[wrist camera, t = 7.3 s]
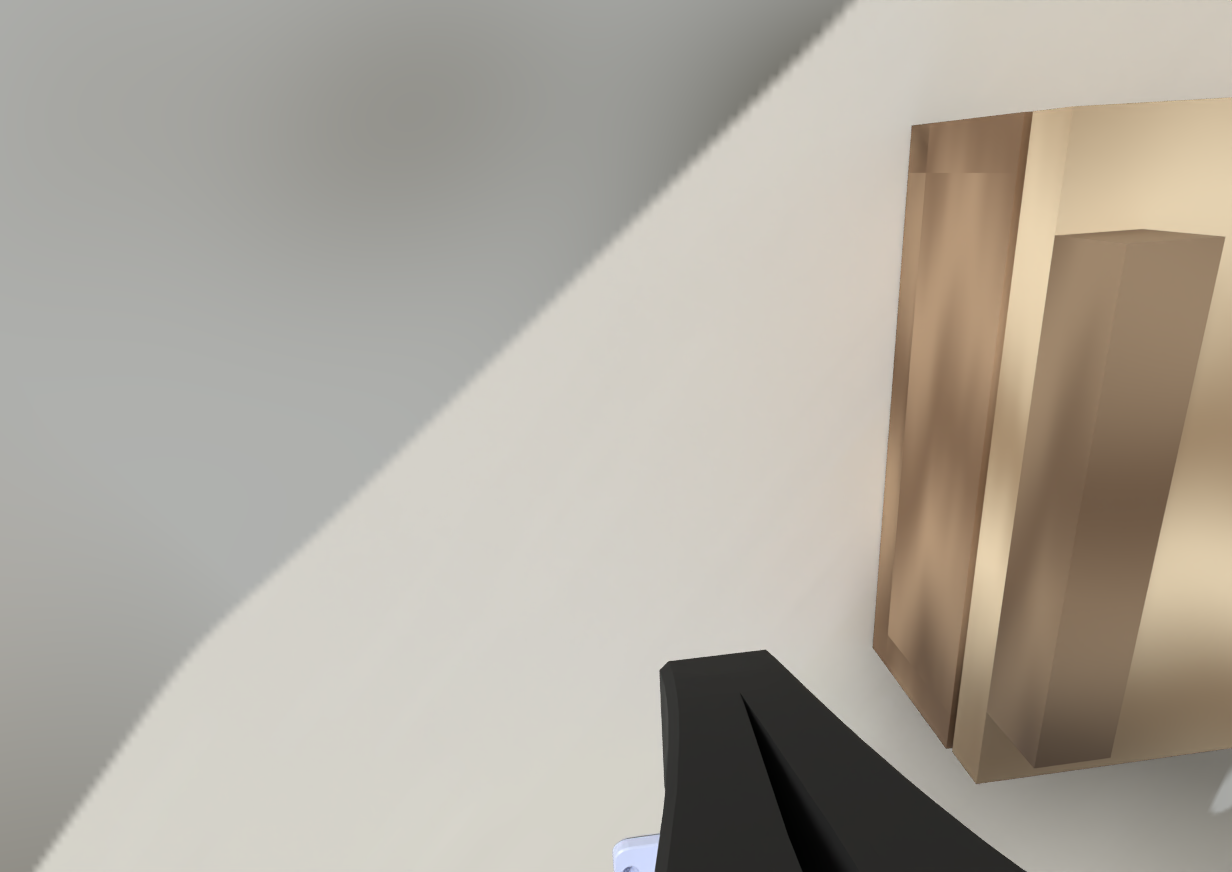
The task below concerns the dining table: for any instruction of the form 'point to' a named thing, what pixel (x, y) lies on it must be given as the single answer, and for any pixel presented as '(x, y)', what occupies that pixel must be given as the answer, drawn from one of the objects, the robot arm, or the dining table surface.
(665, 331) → the dining table surface
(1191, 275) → the lid
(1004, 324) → the walnut box
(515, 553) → the dining table surface
